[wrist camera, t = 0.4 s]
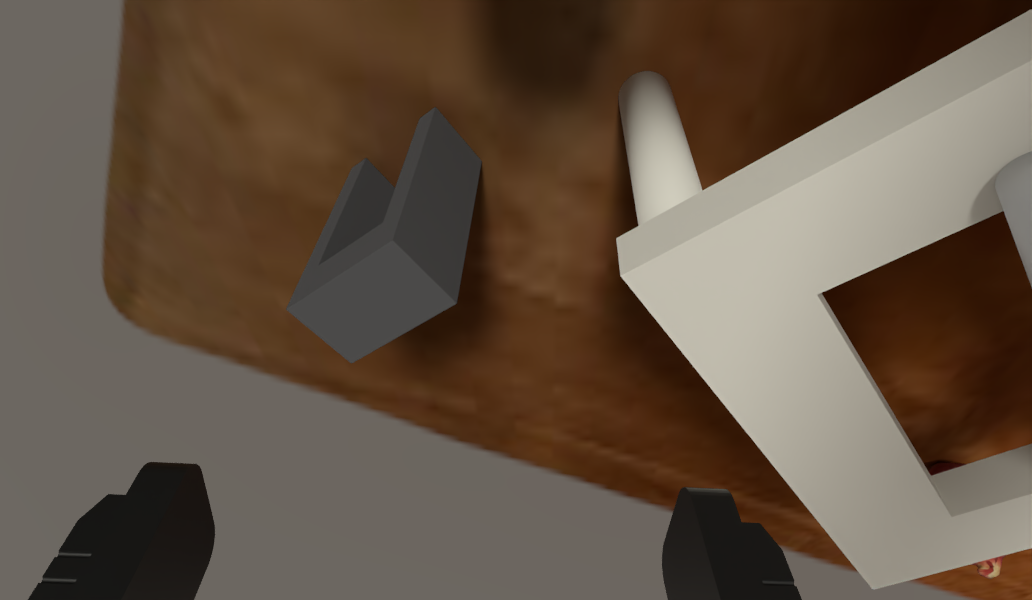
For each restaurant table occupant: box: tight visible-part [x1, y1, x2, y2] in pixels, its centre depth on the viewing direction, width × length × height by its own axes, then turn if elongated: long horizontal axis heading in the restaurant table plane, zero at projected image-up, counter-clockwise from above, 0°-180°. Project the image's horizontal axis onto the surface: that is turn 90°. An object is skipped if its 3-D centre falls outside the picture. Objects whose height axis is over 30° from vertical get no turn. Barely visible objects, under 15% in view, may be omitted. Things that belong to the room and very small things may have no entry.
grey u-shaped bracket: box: [286, 107, 482, 363], centre depth 30 cm, size 6×4×11 cm, turn 127°
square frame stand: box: [616, 9, 1032, 590], centre depth 27 cm, size 21×22×16 cm
